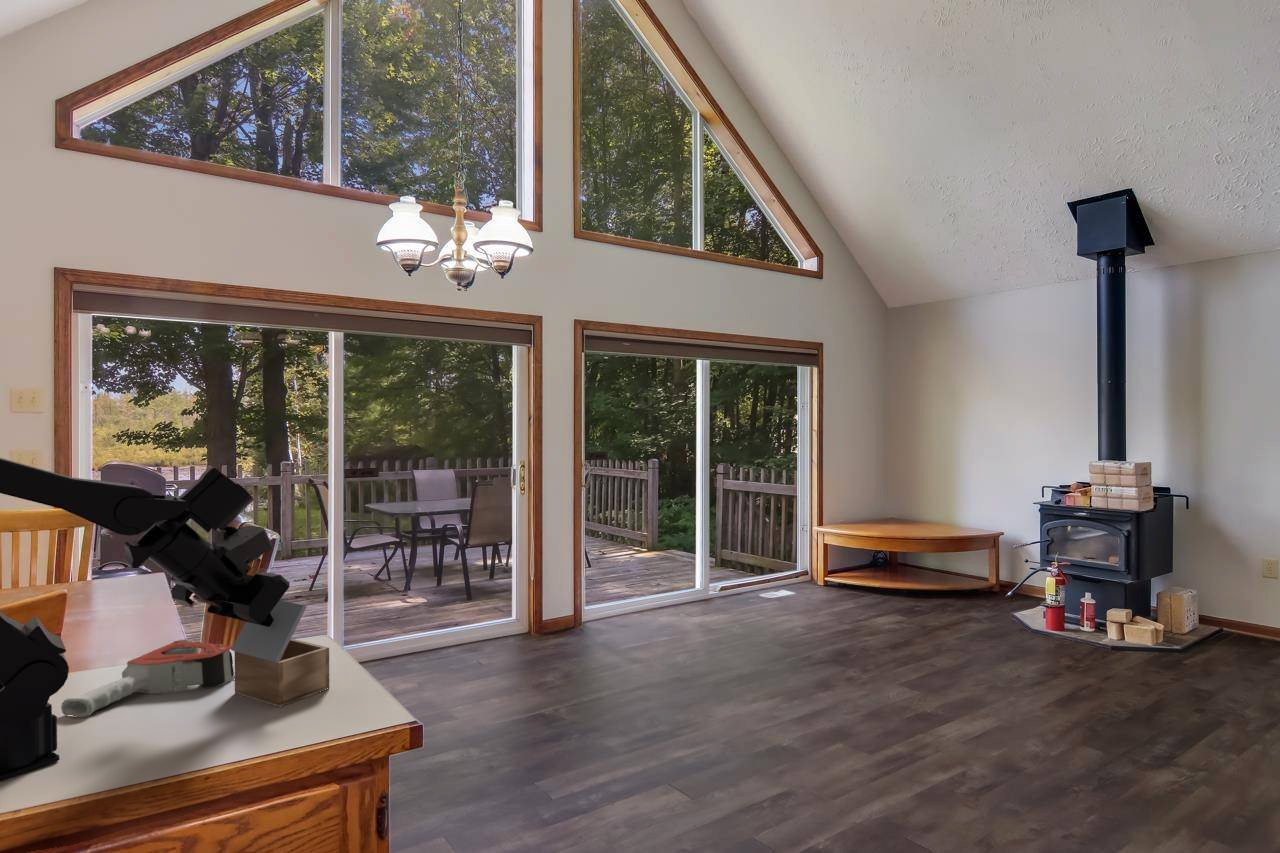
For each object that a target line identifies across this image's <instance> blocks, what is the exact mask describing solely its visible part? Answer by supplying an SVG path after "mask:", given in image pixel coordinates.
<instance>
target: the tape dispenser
mask: <svg viewBox="0 0 1280 853" xmlns="http://www.w3.org/2000/svg"><path fill="white" fill-rule="evenodd" d="M232 647H233V645H226V644H223V643H222V644H221V643H219V644H217V643H208V642H207V643H206V642H197V641H196V642H195V641H189V640H188V638H187V639H186V638H185V639H184V638H183V639H177V640H174V641H173V642H170V643H169V644H166V645H163V646H161V647H159V648H157V649H153V650H152V651H149V652H147V653H145V654H142V655H140V656H139V657H136V658H132V659H130V660H128V661H127V662H126V664H127V665H126V668H124V669H123V671H122V672H121V677H122V678H120V679H117V680H115V681H112V682H109V683H107V684H104V685H101V686H99V687H96V688H93V689H91V690H89V691H87V692H85V693H83V694H80V695H77V696H75V697H69V698H67V697H66V699H64V700H63V701H62V703H61V706H60V709H61V713H62V714H63V715H64V716H65V715H73V716H81V717H80V718H88V717H90V715H92V713H94V712H96V711H97V710H99V709H102V708H105V707H107V706H108V705H110V704H113V703H115V702H118V701H119V700H121V699H123V698H125V697H127V696H130V695H131V694H133V693H134V692H135V693H143V694H158V693H159V694H161V693H171V692H181V691H182V692H183V691H186V690H187V689H188V687H191V686H192V687H193V686H200V687H201V688H203V689H211V688H217V687H220V686H222V684H223V685H225V684H227V683H226V682H228V683H230V682H229V681H231V680H233V681H235V680H234V679H235V669H234V666H233V665H234V663H233V662H234V660H233V654H232V652H231V649H232ZM199 649H202V650H204V651H202V652H199ZM231 682H232V681H231ZM224 683H225V684H224ZM84 716H85V717H84ZM87 716H88V717H87Z"/></svg>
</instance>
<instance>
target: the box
mask: <svg viewBox="0 0 1280 853" xmlns="http://www.w3.org/2000/svg"><path fill="white" fill-rule="evenodd" d="M233 652H234V653H233V654H234V676H235V680H234V694H235V693H237V694H236V695H238V694H239V696H241V697H245V696H246V697H245V698H249V699H251V698H252V700H254V699H255V701H257V700H258V702H261V701H262V702H261V703H264V702H266V703H265V704H267V703H269V704H268V705H270V704H271V705H270V706H273V705H275V706H274V707H277V708H281V707H284V706H286V705H285V704H287V705H290V704H292V703H294V701H295V702H298V701H300V700H303V699H306V698H308V696H309V697H311V696H314V695H316V693H317V694H319V693H318V692H320V691H322V692H325V691H326V690H325V689H327V688H329V689H330V647H328V646H325V645H320V644H315V643H310V642H308V641H307V642H306V641H302V640H299V639H295V638H291V639H290V641H289V643H288V645H287V647H286V649H285V651H284V653H283V655H282V657H281V659H280V661H279V663H276V662H272V661H269V660H265V659H261V658H258V657H254V656H250V655H246V654H243V653H239V652H235V651H233ZM324 690H325V691H324ZM320 693H321V692H320ZM313 694H314V695H313ZM305 697H306V698H305ZM299 699H300V700H299ZM297 700H298V701H297ZM291 702H292V703H291ZM283 705H284V706H283ZM280 706H281V707H280Z"/></svg>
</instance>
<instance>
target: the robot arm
mask: <svg viewBox="0 0 1280 853" xmlns="http://www.w3.org/2000/svg"><path fill="white" fill-rule="evenodd" d="M0 494H2V495H6V496H8V497H9V496H10V497H13V498H18V499H22V500H25V501H29V502H34V503H37V504H41V505H47V506H48V507H49V506H50V507H53V508H57V509H61V510H63V511H65V512H68V513H70V514H73V515H75V516H77V517H78V518H82V519H84V520H86V521H88V522H90V523H92V524H95V525H97V526H100V527H102V528H104V529H107V530H109V531H111V532H114V533H116V534H119V535H121V536H128V537H129V536H136V535H140V534H141V533H143V534H142V535H141V536H140V537H139V538H137V539H135V540H131V541H125V542H124V543H123V545H124V546H123V547H124V552H123V558H122V560H123V561H124V562H125V563H126V564H127V565H129V566H130V567H131V568H132V569H139V567H140V566H142V564H144V563H145V562H146V561H147V560H148V559H149V560H150V561H151V562H153V563H154V564H155V565H156V566H158V567H159V568H161V570H163V572H165V573H167V574H168V575H169V576H171V577H170V578H169V581H171V582H172V583H173V584H174V585H173V587H172V588H171V599H172V600H174V601H175V602H176V603H177V604H179V605H180V606H182V607H187V608H193V607H194V606H195V605H196V603H195V601H197V603H198V602H199V603H204V604H207V605H209V607H208V608H207V610H206V611H207V613H209V614H213V615H216V616H217V615H218V616H221V617H226V618H230V619H233V620H238V621H240V622H241V621H242V622H244V623H245V622H250V623H254V624H258V625H263V626H267V627H270V626H271V624H272V622H273V620H274V619H273V618H272V616H271V614H270V612H271V611H272V610H273V608H274V607H275V606H276V604H277V603H278V602H279V600H280V601H281V599H282V598H283V596H284V595H285V594H286V592H287V591H288V590H289V588H290V586H291V585H290V583H291V582H289V580H287V579H286V578H285V577H284V576H283V575H282V574H279V573H273V572H267V571H262V572H259V573H255V574H254V575H250V574H249V572H250V571H251V570H252V566H250V565H249V564H250V563H252V562H253V561H256V559H259V558H260V557H261V556H262V555H263V554H265V553H269V552H270V551H272V550H273V549H274V546H273V544H272V541H271V539H270V537H269V536H268V533H267V531H266V529H265V527H264V526H263V527H262V526H256V525H246V526H239V527H238V528H236V527H235V526H233V525H230V524H231V523H232V522H233V521H234V520H235V519H236V518H237V517H238V516H239V515H240V514H241V513H242V512H243V511H244V510H245V509H246V508H247V507H249V505H251V503H253V502H254V500H255V499H254V497H253V496H252V494H250V493H249V492H248V491H247V490H246V489H245V488H244V487H243V486H242V485H241V484H240V483H238V482H235V481H233V480H232V479H230V477H228V476H226V475H225V474H224V473H222V472H221V471H220V470H218V469H217V468H216V467H214V466H208V467H207V468H206V470H204V471H203V472H202V474H201V475H200V476H199V478H198V479H196V481H195V482H194V483H192V484H191V485H190V486H189V487H188V488H187V489H185V491H183V493H181V494H180V495H179V496H178V497H177V496H176V495H171V493H170V494H169V493H167V494H166V495H165V494H153V493H152V492H151V491H149V490H147V489H144V488H142V487H140V486H138V485H135V484H131V483H124V482H117V481H107V480H101V479H100V480H98V479H90V478H89V479H87V478H79V477H71V476H68V475H64V474H60V473H56V472H53V471H49V470H46V469H42V468H39V467H35V466H31V465H28V464H24V463H20V462H18V461H14V460H10V459H6V458H2V457H0ZM162 521H163V522H162ZM189 521H191V522H192V523H194V524H195V525H196V526H197V527H198V528H200V530H202V531H204V532H205V533H207V534H209V533H210V532H211V530H212V531H214V532H216V537H215V538H216V541H215V544H216V545H213V544H212V543H210V542H209V540H207V539H206V538H204V536H202V535H201V534H200V533H199V532H197V531H196V530H195V529H194V528H192V527H191V526H190V525H189V524H188V522H189ZM158 522H162V523H160V524H159V525H157V524H155V523H158ZM144 532H145V533H144ZM191 596H192V598H193V599H194V600H195V601H194V600H192V599H191ZM66 652H67V649H66V646H65V644H64V642H63V640H62V637H61V636H59V635H56V634H53V633H52V632H50V631H49V630H48V629H47V628H46V627H45V626H44V624H43V623H42V622H41V620H40V619H39V618H38V616H36V615H34V616H33V617H32V618H31V619H29V621H27V622H26V624H24V623H21V622H19V621H17V620H14V619H13V618H11V617H9V616H7V615H6V614H5V613H3V611H1V610H0V781H2V780H5V779H7V778H8V779H9V778H10V777H13V776H16V775H19V774H23V773H26V772H28V771H29V772H30V771H32V770H34V769H37V768H40V767H43V766H46V765H49V764H52V763H56V762H57V761H59V760H60V755H59V754H58V753H56V751H57V750H58V716H57V715H56V714H53V707H52V704H51V703H50V702H49V700H50V697H51V696H53V695H55V694H56V693H59V692H58V691H60V690H61V689H62V688H63V687H64V686H65V683H66V681H67V680H68V677H69V670H70V667H69V664H68V661H67V659H66V657H65V656H66V655H65V653H66Z"/></svg>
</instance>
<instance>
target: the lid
mask: <svg viewBox="0 0 1280 853" xmlns="http://www.w3.org/2000/svg"><path fill="white" fill-rule="evenodd" d="M306 609H307V606H306V605H304V604H300V603H294V602H290V601H284V600H281V599H280V600H279V602H278V603H277V604H276V606H275V607H274V608H273V610H272V611H271V612H270V614H271V616H272V618H273V619H274V620H273V622H272V624H271V626H270V627H267V626H263V625H258V624H254V623H250V622H245V621H244V624H243V626H242V628H241V630H240V632H239V634H238V635H237V638H236V639H235V641H234V643H233V644H232V648H231V649H230V651H233V652H234V651H235V652H239V653H243V654H246V655H250V656H254V657H258V658H261V659H265V660H269V661H272V662H276V663H279V661H280V659H281V657H282V655H283V653H284V651H285V649H286V647H287V645H288V643H289V641H290V639H292V637H293V635H294V633H295V631H296V629H297V627H298V625H299V623H300V621H301V619H302V617H303V616H304V613H305V611H306Z"/></svg>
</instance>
